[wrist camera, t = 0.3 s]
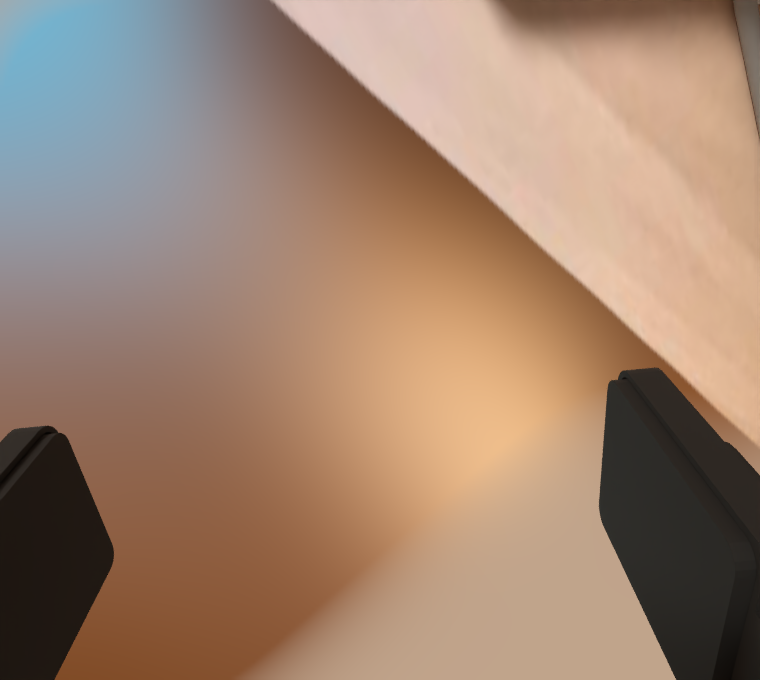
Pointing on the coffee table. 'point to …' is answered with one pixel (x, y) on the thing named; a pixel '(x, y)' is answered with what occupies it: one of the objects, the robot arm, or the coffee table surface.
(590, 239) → the coffee table surface
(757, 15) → the newton's cradle
